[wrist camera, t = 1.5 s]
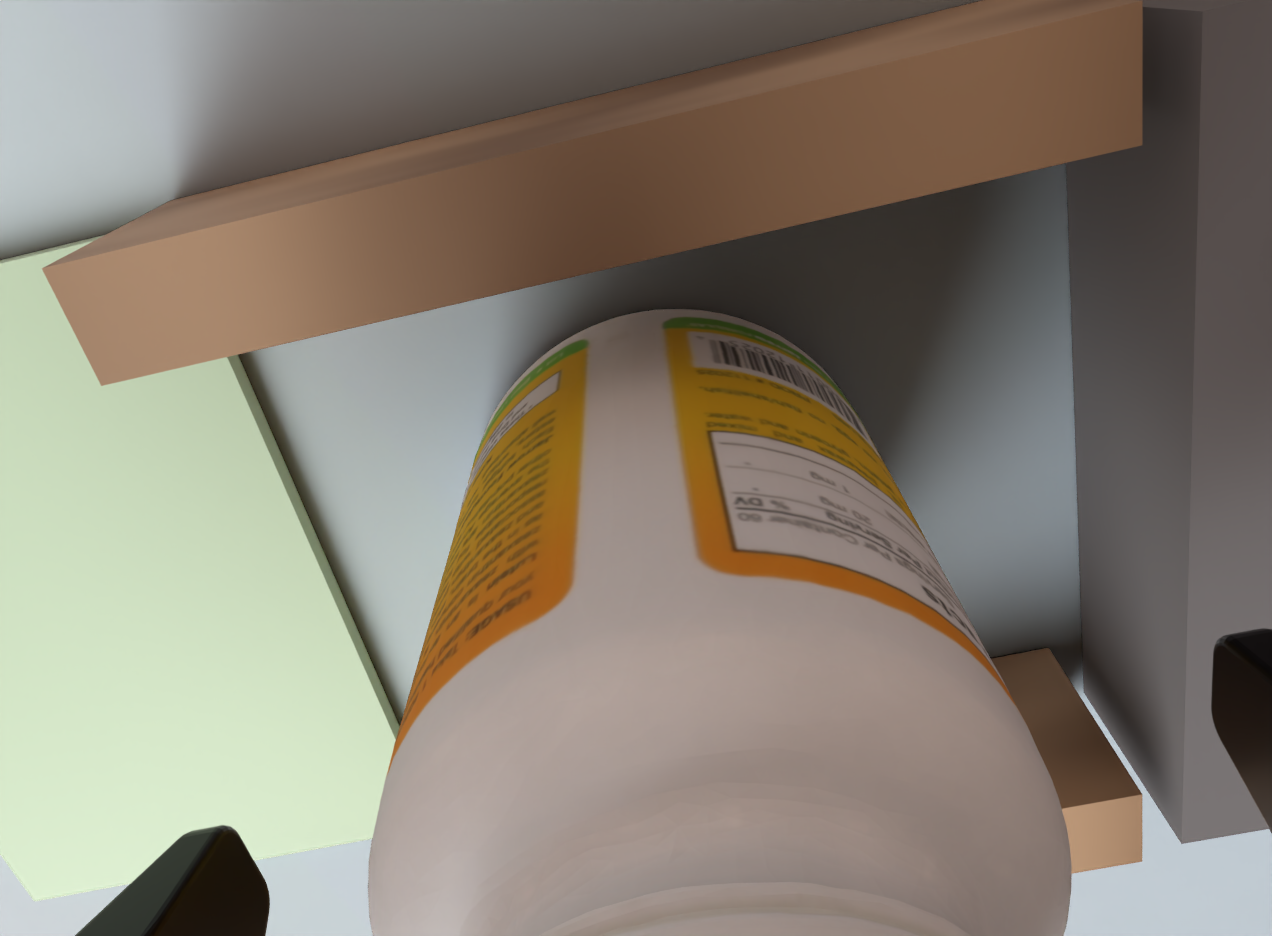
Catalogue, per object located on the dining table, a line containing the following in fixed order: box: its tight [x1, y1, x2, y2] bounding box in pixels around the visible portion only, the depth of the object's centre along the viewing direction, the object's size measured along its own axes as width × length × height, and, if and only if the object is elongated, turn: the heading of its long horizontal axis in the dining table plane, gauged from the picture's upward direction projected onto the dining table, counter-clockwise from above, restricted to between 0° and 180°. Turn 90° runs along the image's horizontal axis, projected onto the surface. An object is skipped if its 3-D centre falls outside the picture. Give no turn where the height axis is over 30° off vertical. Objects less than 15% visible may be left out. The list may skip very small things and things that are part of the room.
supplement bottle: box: [368, 309, 1072, 936], centre depth 9 cm, size 5×5×10 cm
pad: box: [0, 235, 400, 901], centre depth 14 cm, size 7×10×1 cm
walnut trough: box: [42, 0, 1143, 874], centre depth 12 cm, size 10×10×3 cm
